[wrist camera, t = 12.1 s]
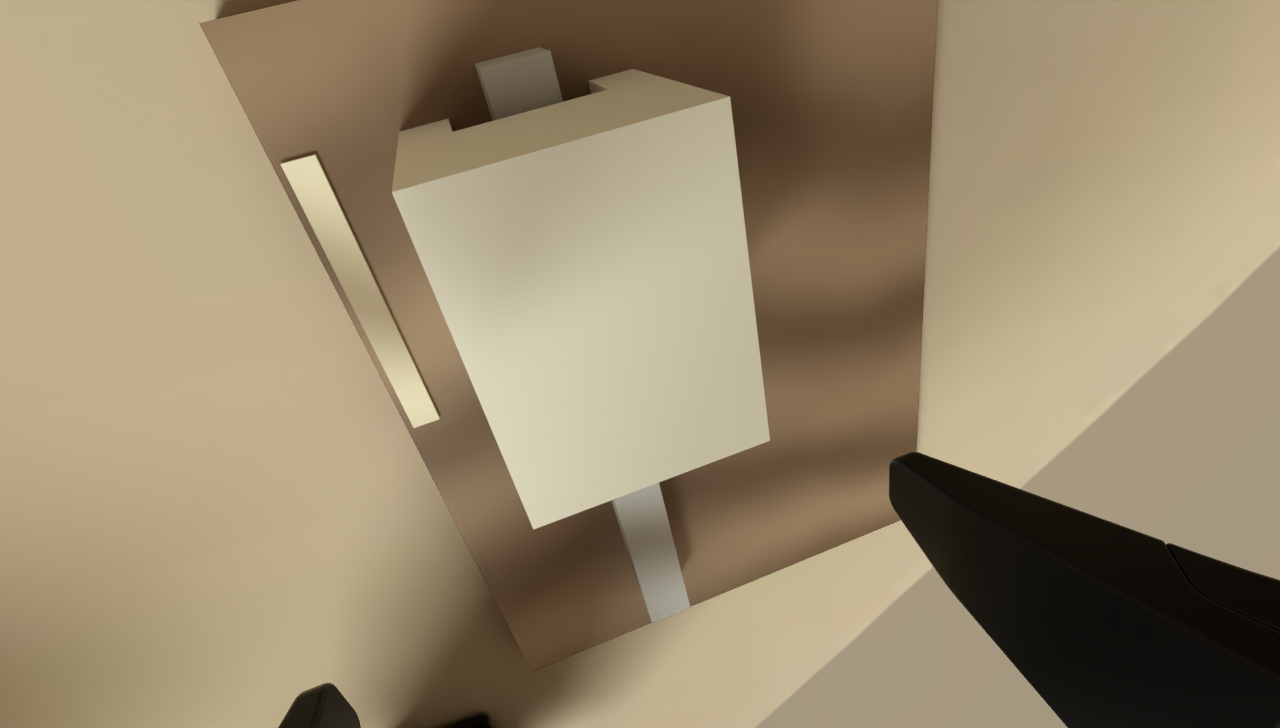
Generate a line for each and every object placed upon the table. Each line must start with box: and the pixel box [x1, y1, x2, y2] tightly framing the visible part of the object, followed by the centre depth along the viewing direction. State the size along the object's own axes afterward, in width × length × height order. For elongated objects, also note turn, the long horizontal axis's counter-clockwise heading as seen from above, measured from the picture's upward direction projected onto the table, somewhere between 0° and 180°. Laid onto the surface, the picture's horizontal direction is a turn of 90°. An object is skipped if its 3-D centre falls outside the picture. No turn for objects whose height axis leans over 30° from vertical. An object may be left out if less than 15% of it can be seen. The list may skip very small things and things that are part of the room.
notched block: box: [392, 69, 770, 530], centre depth 15 cm, size 8×6×6 cm
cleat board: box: [199, 0, 937, 672], centre depth 21 cm, size 24×18×3 cm
